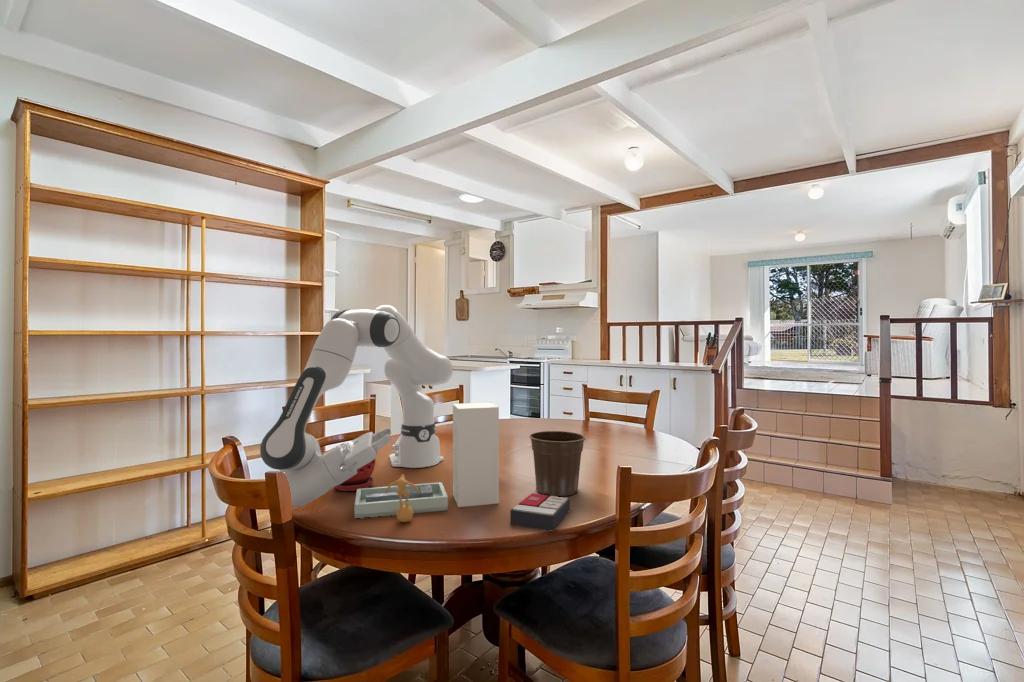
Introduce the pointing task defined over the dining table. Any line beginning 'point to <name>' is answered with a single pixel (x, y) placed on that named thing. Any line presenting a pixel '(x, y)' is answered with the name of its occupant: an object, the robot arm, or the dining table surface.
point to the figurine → (404, 510)
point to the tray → (390, 507)
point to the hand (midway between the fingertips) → (390, 433)
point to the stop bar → (423, 489)
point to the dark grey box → (540, 511)
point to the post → (475, 454)
